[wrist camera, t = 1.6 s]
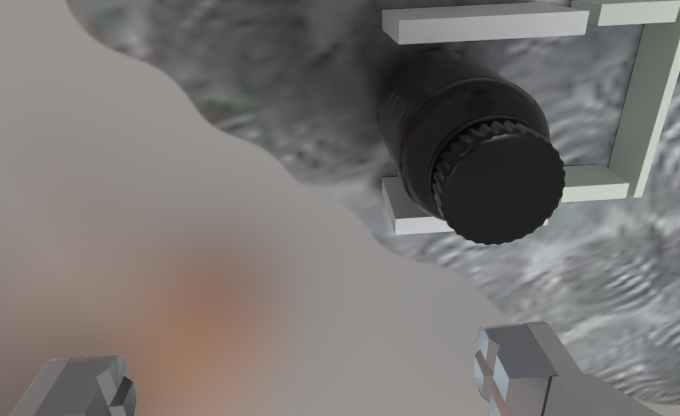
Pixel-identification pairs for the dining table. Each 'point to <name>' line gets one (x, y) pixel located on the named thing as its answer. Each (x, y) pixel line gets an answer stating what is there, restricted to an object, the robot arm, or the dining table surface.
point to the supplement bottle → (470, 147)
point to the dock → (633, 99)
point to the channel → (466, 27)
